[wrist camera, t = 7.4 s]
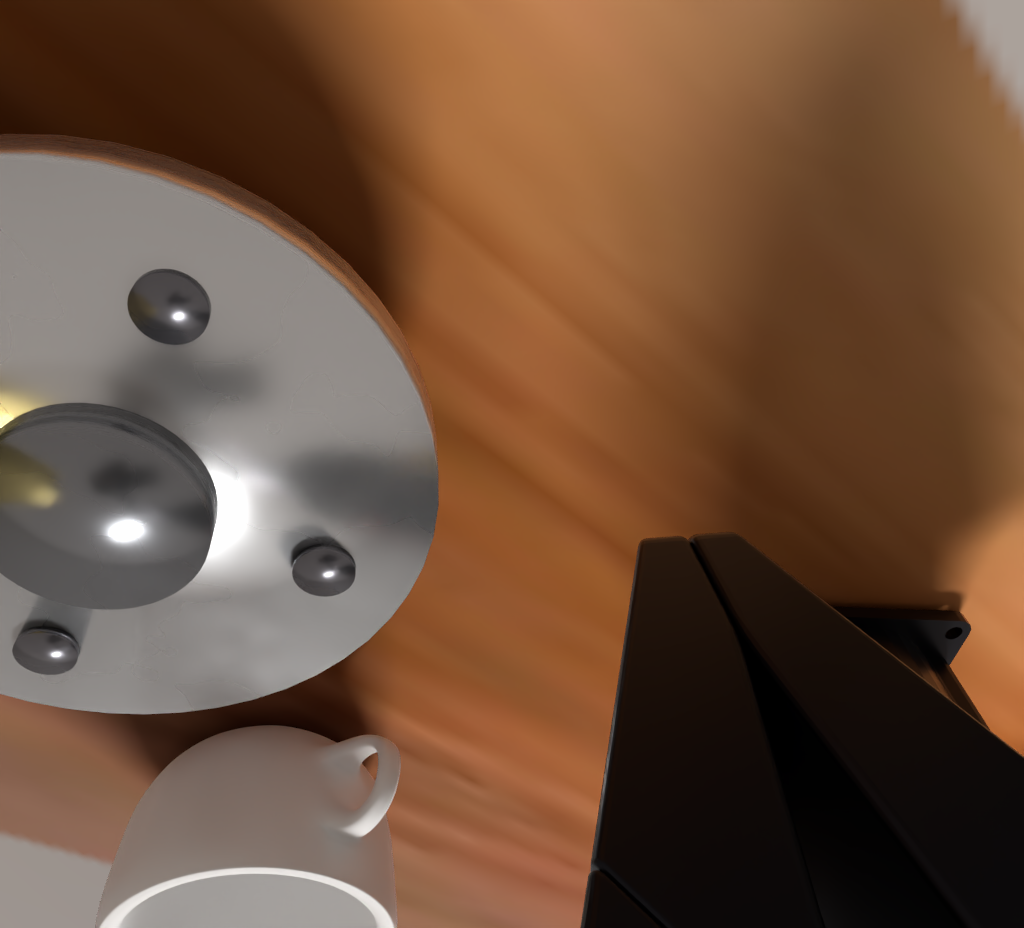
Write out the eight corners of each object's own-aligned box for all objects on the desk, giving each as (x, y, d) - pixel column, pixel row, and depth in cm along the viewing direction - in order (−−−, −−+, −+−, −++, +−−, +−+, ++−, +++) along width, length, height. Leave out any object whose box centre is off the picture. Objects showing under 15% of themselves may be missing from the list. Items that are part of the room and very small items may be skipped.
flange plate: (549, 325, 16) (586, 462, 13) (305, 721, 22) (287, 887, 19) (-461, -134, 11) (-840, -109, 8) (-431, 540, 17) (-640, 724, 13)
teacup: (302, 865, 31) (286, 1037, 27) (92, 790, 27) (34, 975, 23) (495, 713, 27) (512, 885, 23) (280, 604, 24) (252, 782, 19)
